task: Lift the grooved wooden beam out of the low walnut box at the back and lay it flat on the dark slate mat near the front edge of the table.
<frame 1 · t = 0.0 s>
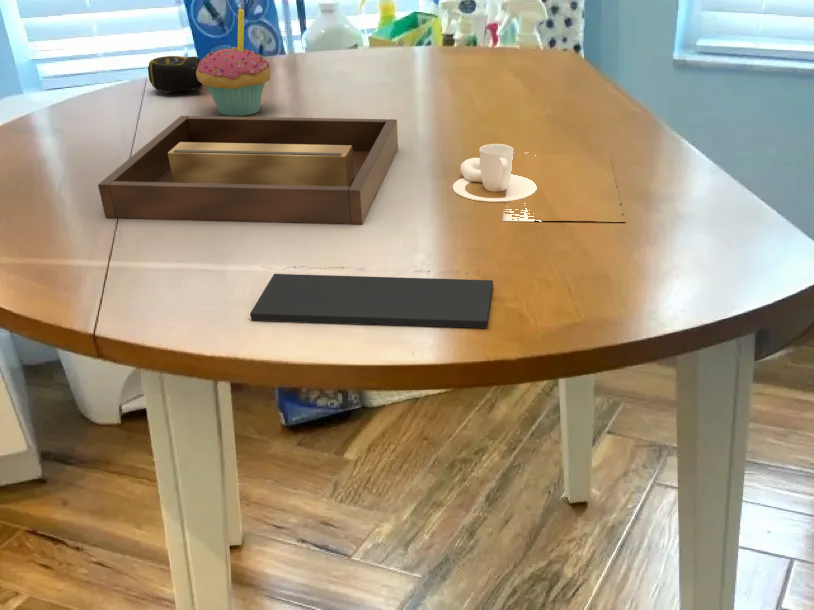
mat: (375, 303, 71), on the table
box: (265, 185, 93), on the table
cupcake: (239, 113, 115), on the table
teacup and saucer: (513, 185, 93), on the table
grooved wooden beam: (264, 180, 93), resting on box
tape measure: (184, 91, 124), on the table
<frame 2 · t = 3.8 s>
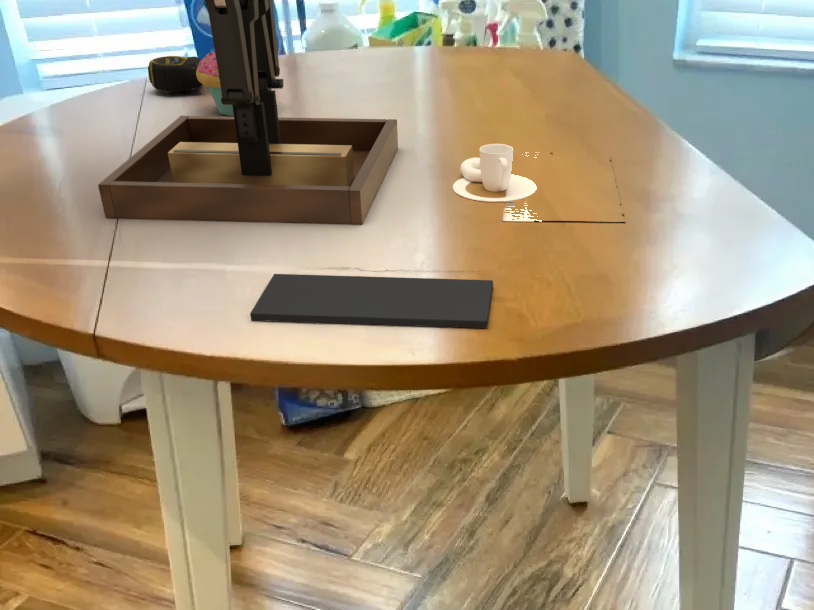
hand: (262, 166, 92), 2 cm above the table, tool pointing down, fingers closed on grooved wooden beam, 3 cm apart
grooved wooden beam: (264, 180, 93), point 1 cm above the table, touching box, gripper
everything else where it was.
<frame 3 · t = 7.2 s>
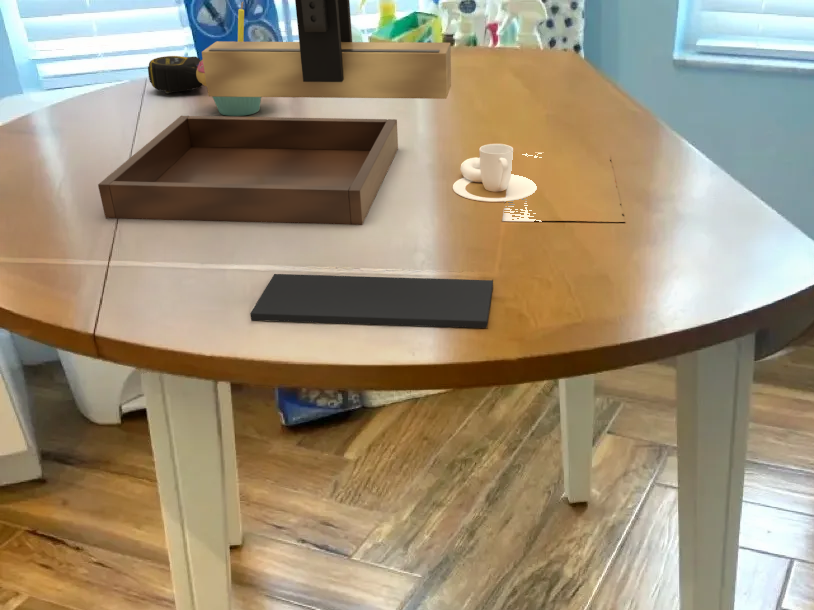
hand: (329, 72, 68), 15 cm above the table, tool pointing down, fingers closed on grooved wooden beam, 3 cm apart
grooved wooden beam: (331, 91, 69), point 14 cm above the table, touching gripper
everything else where it was.
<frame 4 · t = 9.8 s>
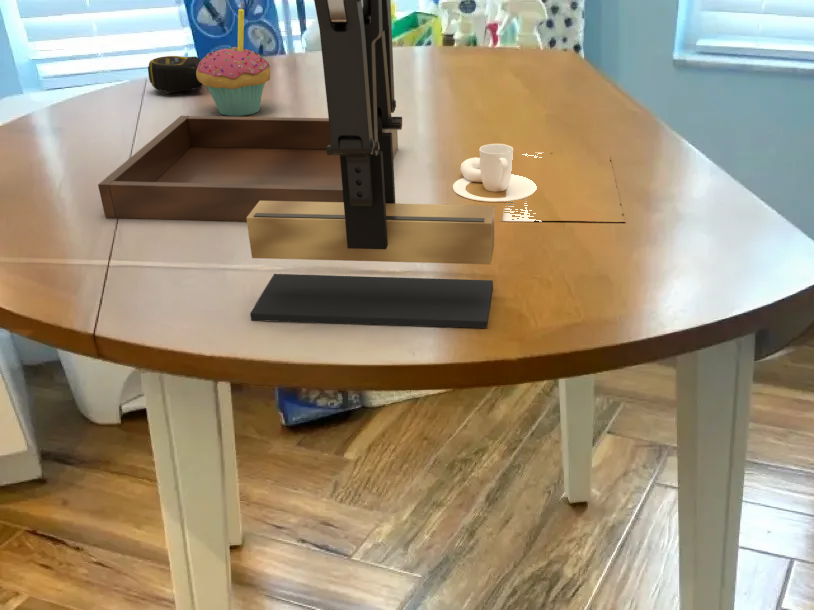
hand: (372, 234, 68), 5 cm above the table, tool pointing down, fingers closed on grooved wooden beam, 3 cm apart
grooved wooden beam: (374, 252, 69), point 4 cm above the table, touching gripper
everything else where it was.
when the fingers open (2 cm above the table, at t = 11.0 s): grooved wooden beam stays where it is, resting on mat.
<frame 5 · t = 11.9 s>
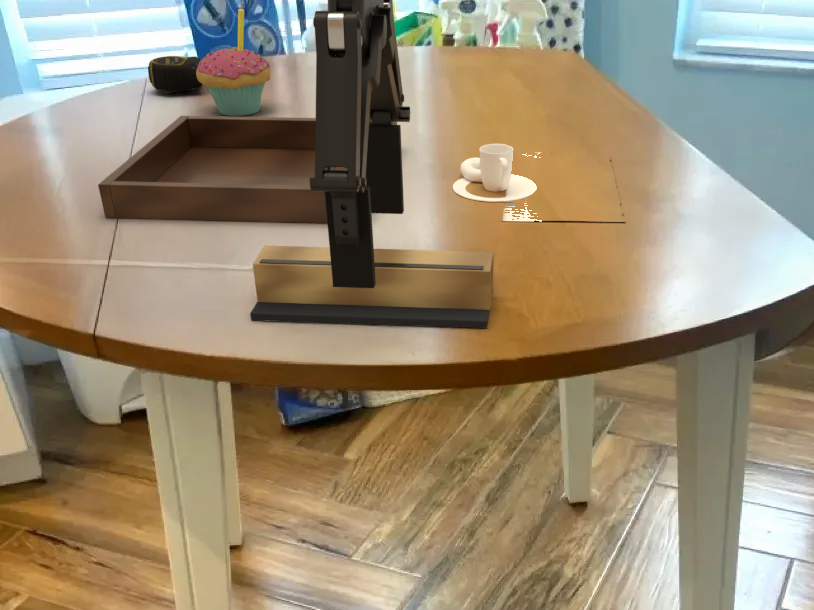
hand: (371, 246, 69), 4 cm above the table, tool pointing down, fingers open, 13 cm apart
grooved wooden beam: (376, 296, 71), point 1 cm above the table, touching mat
everything else where it was.
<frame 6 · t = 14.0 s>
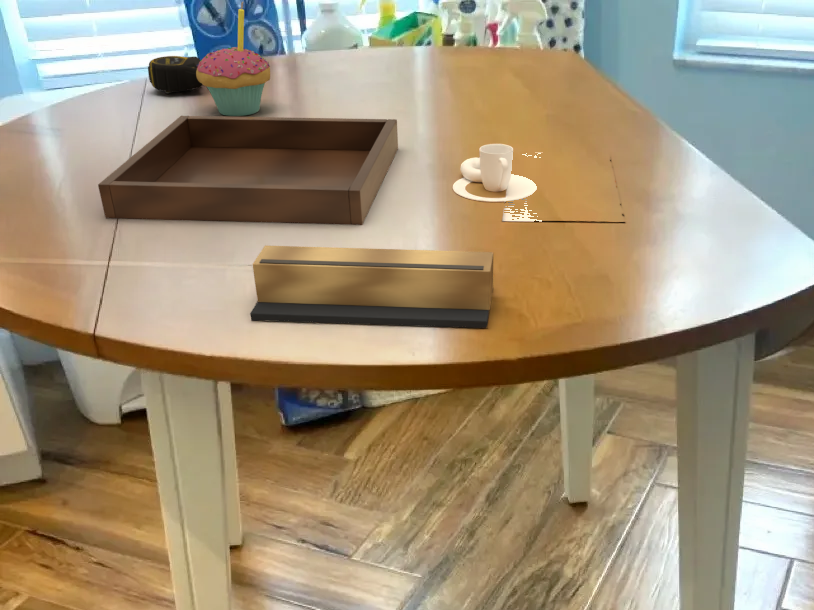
nothing on the table moved.
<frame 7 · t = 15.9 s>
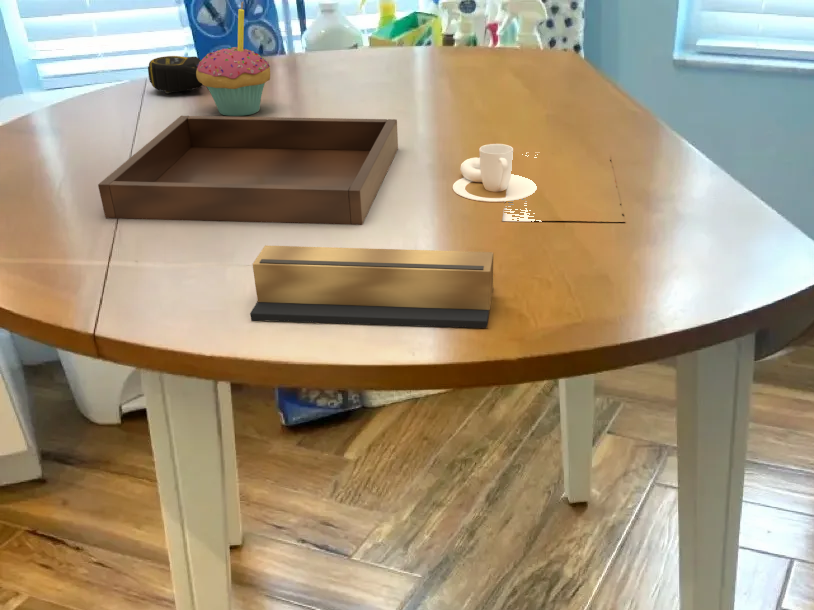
nothing on the table moved.
at the end: grooved wooden beam inside the target area on the mat (0.1 cm from its centre), point 0.6 cm above the mat's base; grooved wooden beam tilted 0°; the gripper is holding nothing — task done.
